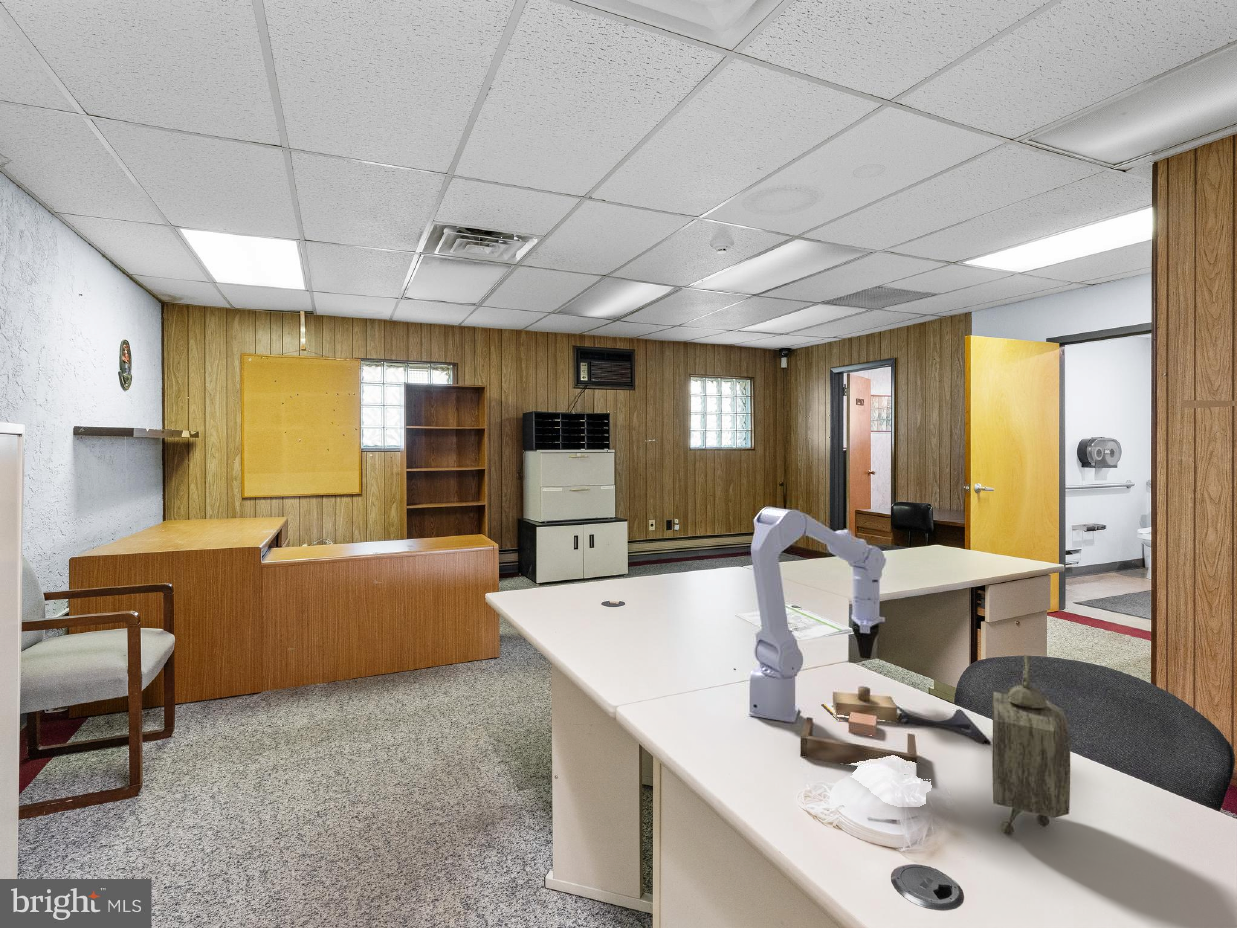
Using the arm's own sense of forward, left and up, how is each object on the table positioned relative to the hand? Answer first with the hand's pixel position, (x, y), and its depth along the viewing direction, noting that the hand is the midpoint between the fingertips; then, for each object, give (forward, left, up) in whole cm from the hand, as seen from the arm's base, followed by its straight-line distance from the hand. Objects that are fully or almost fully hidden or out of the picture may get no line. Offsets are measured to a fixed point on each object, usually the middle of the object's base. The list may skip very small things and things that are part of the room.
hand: (865, 656), depth 142 cm
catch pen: (0, -30, -9) cm, 31 cm away
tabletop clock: (+24, -42, -10) cm, 49 cm away
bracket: (+14, -10, -10) cm, 20 cm away
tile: (0, -18, -10) cm, 20 cm away
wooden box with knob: (0, -10, -10) cm, 14 cm away
